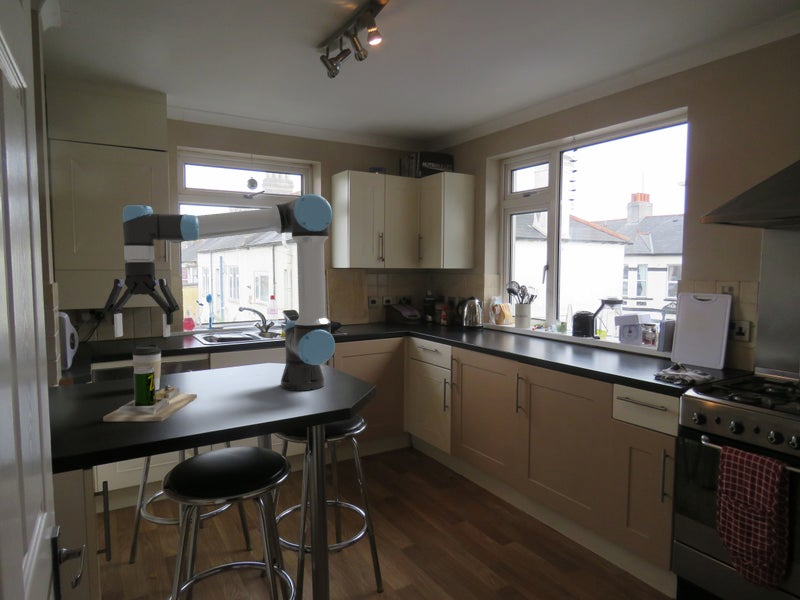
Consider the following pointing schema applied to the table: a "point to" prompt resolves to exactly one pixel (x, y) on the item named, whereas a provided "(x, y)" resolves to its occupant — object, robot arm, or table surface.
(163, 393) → the bar
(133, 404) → the dock
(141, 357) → the coffee cup
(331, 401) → the table surface
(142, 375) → the beer can
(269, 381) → the table surface
